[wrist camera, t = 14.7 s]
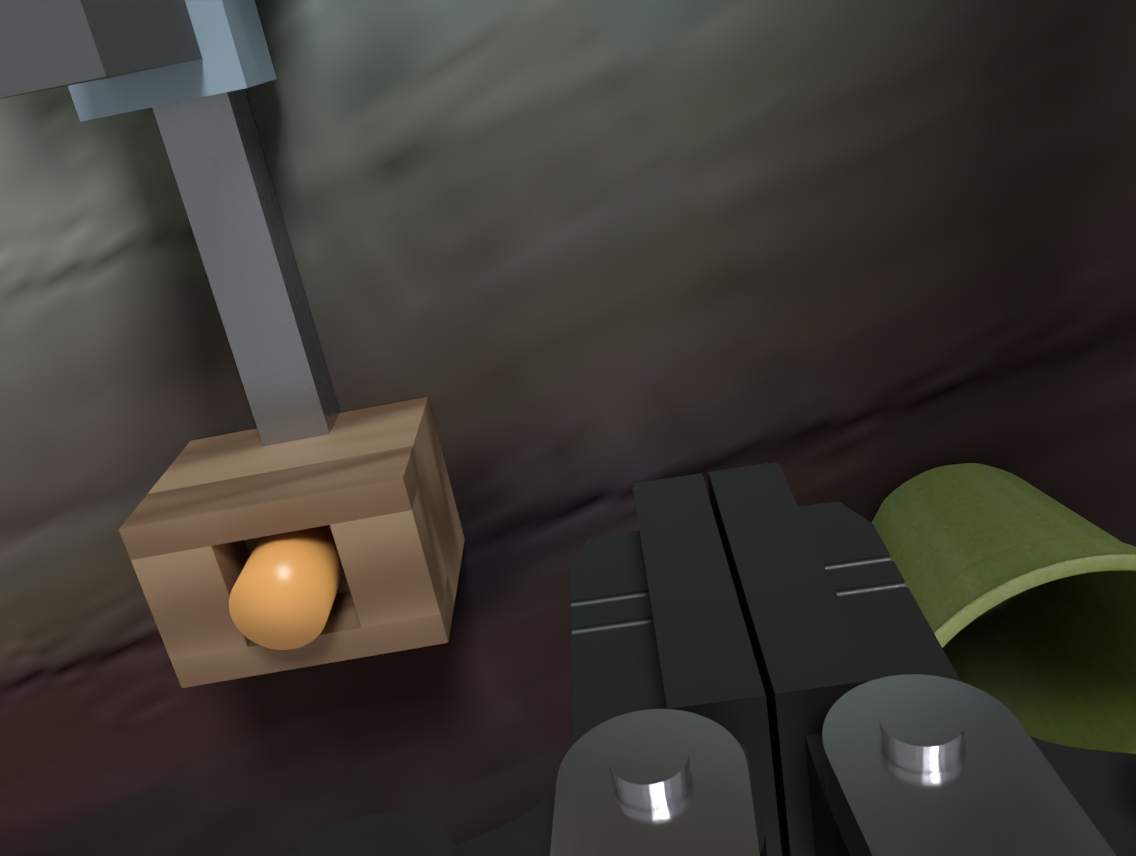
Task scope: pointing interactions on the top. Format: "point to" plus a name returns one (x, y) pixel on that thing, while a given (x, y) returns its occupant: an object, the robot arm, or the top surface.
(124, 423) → the top surface
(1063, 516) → the plant pot
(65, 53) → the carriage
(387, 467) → the stand
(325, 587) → the button
